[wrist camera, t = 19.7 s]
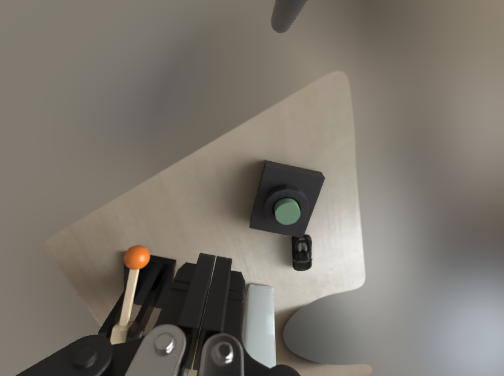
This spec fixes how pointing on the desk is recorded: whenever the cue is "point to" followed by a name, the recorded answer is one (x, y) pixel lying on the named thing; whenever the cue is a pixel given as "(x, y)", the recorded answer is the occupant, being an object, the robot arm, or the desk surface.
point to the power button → (287, 211)
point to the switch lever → (129, 291)
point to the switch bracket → (143, 295)
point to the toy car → (301, 253)
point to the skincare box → (260, 325)
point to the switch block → (285, 186)
